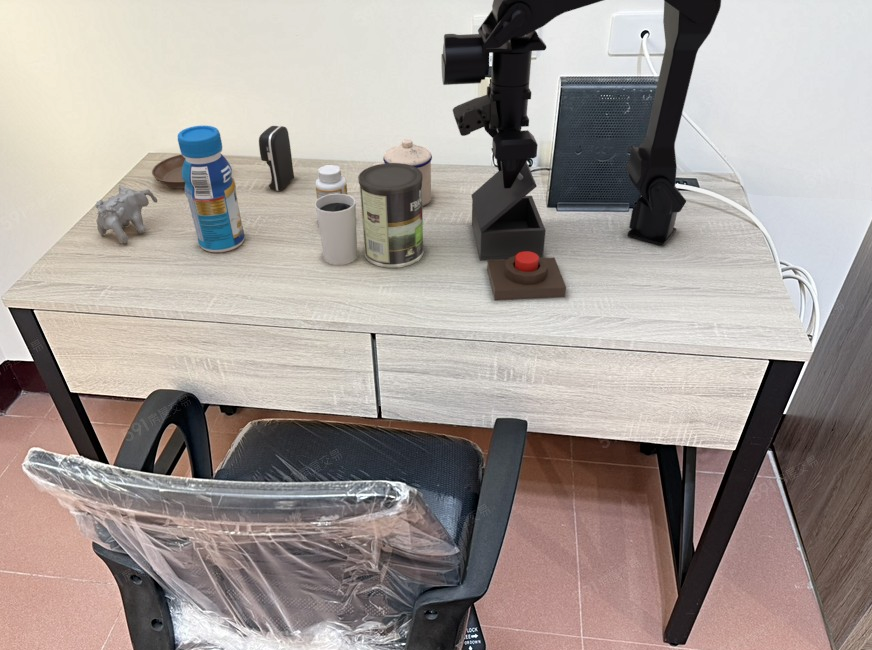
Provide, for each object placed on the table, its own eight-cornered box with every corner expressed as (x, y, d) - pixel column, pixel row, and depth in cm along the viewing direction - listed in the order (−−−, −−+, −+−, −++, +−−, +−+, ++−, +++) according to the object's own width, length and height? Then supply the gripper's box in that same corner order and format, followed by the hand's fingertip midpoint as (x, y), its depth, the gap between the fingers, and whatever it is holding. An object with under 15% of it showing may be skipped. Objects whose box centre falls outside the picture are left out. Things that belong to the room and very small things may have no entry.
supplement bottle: (334, 211, 134) (329, 160, 128) (356, 220, 132) (351, 167, 125) (313, 223, 131) (307, 170, 125) (335, 232, 128) (329, 178, 122)
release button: (535, 260, 113) (536, 250, 112) (539, 272, 110) (540, 262, 109) (513, 261, 113) (513, 251, 112) (516, 273, 110) (517, 263, 109)
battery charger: (279, 176, 147) (270, 121, 140) (295, 178, 146) (287, 123, 139) (263, 190, 142) (254, 135, 135) (281, 192, 141) (272, 136, 134)
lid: (523, 154, 120) (506, 135, 118) (537, 186, 111) (519, 167, 109) (473, 197, 125) (456, 180, 123) (482, 232, 115) (464, 214, 113)
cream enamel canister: (434, 189, 140) (433, 131, 133) (430, 211, 133) (429, 151, 126) (374, 188, 142) (370, 131, 134) (367, 209, 135) (363, 150, 127)
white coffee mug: (342, 242, 125) (337, 189, 119) (367, 255, 122) (363, 202, 115) (313, 256, 122) (306, 203, 115) (338, 270, 118) (332, 216, 112)
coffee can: (428, 240, 125) (427, 163, 116) (417, 270, 117) (416, 191, 108) (371, 236, 127) (366, 160, 118) (357, 265, 119) (350, 187, 110)
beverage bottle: (189, 243, 127) (160, 134, 114) (227, 226, 131) (204, 118, 118) (216, 259, 122) (190, 147, 109) (255, 240, 127) (235, 130, 114)
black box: (529, 222, 129) (532, 195, 125) (542, 258, 119) (545, 229, 116) (471, 225, 129) (472, 198, 125) (479, 261, 119) (481, 233, 116)
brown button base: (553, 267, 117) (555, 248, 115) (565, 297, 110) (567, 278, 108) (487, 270, 117) (487, 251, 114) (494, 301, 110) (495, 281, 108)
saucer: (142, 179, 149) (138, 166, 147) (204, 157, 156) (201, 145, 154) (177, 201, 140) (173, 188, 138) (240, 177, 148) (238, 165, 146)
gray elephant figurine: (91, 242, 128) (77, 203, 123) (129, 212, 137) (117, 174, 132) (135, 248, 126) (123, 208, 121) (171, 217, 135) (161, 179, 130)
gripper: (451, 64, 113) (450, 158, 123) (463, 105, 99) (461, 207, 109) (520, 61, 114) (513, 155, 124) (542, 101, 99) (533, 204, 109)
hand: (504, 178), depth 116 cm, fingers open, 6 cm apart
